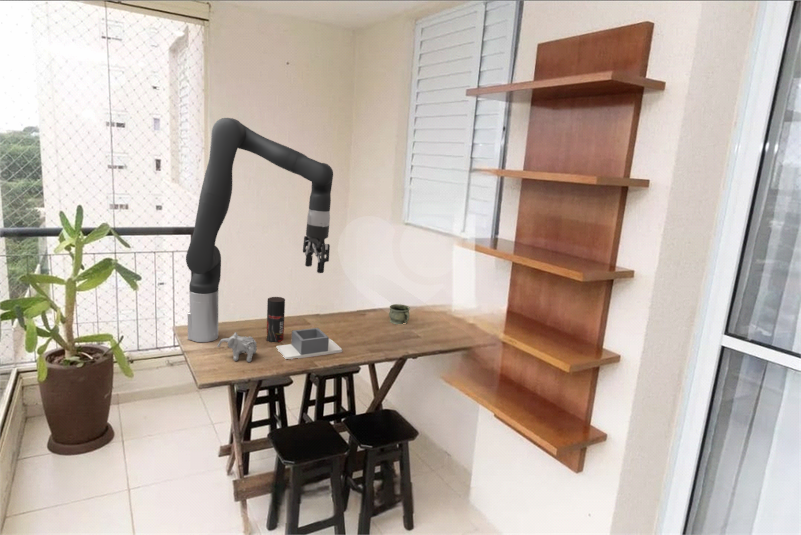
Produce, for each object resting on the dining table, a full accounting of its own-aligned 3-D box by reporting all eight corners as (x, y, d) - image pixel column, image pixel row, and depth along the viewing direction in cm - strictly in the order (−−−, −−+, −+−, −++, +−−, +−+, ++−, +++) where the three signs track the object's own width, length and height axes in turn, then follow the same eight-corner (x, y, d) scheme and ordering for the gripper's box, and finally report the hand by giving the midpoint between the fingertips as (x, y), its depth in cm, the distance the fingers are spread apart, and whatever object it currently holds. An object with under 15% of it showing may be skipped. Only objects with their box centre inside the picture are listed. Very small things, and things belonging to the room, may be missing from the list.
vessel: (415, 324, 208) (417, 310, 207) (399, 327, 202) (401, 313, 201) (397, 315, 217) (398, 301, 215) (381, 318, 211) (382, 304, 210)
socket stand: (285, 360, 164) (286, 343, 162) (276, 348, 172) (276, 332, 170) (342, 352, 174) (343, 335, 172) (330, 341, 182) (331, 325, 181)
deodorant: (279, 343, 176) (280, 302, 173) (263, 341, 177) (264, 300, 174) (286, 337, 182) (287, 298, 178) (271, 335, 183) (272, 295, 179)
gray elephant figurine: (258, 363, 161) (260, 340, 159) (218, 364, 156) (219, 341, 154) (254, 352, 169) (256, 330, 167) (216, 353, 164) (217, 330, 162)
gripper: (298, 219, 173) (295, 264, 177) (318, 227, 162) (314, 275, 166) (317, 219, 178) (314, 263, 181) (338, 227, 167) (334, 274, 171)
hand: (314, 269), depth 174 cm, fingers open, 8 cm apart
